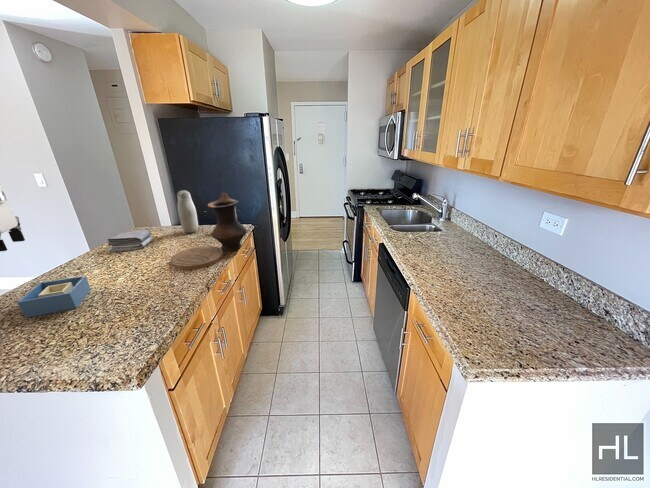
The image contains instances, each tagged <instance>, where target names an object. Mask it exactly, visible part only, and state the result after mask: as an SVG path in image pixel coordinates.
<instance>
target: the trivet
mask: <svg viewBox="0 0 650 488" xmlns="http://www.w3.org/2000/svg"><path fill="white" fill-rule="evenodd" d="M224 255H225V254H224V251H223V250H222V249H221V247H218V246H214V245H201V246H194V247H190V248H186V249H183V250H181V251H179V252H176V253H175V254H173V255H172V256H171V258H170V260H169V262H170V265H171V266H172V268H174V269H178V270H182V271H183V270H185V271H186V270H187V271H189V270H198V269H202V268H206V267H209V266H210V267H211V266H212V265H215V264H217V263H218V262H220V261H221V260H222V259H223V258H224Z"/></svg>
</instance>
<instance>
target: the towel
mask: <svg viewBox="0 0 650 488" xmlns="http://www.w3.org/2000/svg"><path fill="white" fill-rule="evenodd" d="M151 235H152V232H151V231H150V230H148V229H147V230H146V229H140V230H135V231H130V232H121V233H118V234H117V235H115V236H114V237H107V246H110V247H109V249H108V252H109V253H115V252H126V251H127V252H128V251H136V250H141V249H144V247H145V246H147V245H148V244H150V242H152V241H153V240H154V239H153V237H152V236H151Z"/></svg>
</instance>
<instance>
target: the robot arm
mask: <svg viewBox="0 0 650 488" xmlns="http://www.w3.org/2000/svg"><path fill="white" fill-rule="evenodd" d="M5 232H8V234H9V237H10V239H11V241H12V242H13V243H20V242H25V241H26V239H25V236H24V234H23V232H22V228H21V222H20V217H19V216H17V215H15V213H14V211H13V209H12V207H11V205H10V204H9V202H8V199H7V197H6V195H5V191H4V190H3V188H2V185H1V184H0V252H6V251H8V247H7V246H6V244H5V241H4V239H1V237H2V234H3V233H5Z"/></svg>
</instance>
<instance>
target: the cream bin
mask: <svg viewBox="0 0 650 488" xmlns="http://www.w3.org/2000/svg"><path fill="white" fill-rule="evenodd" d="M72 288H73V286H72V283H65V284H58V285H52V286H48V287H47V288H45V289H44V290H43V291H42V292H41V293H40V294H39V295H38V297H39V298H41V297H47V296H53V295H59V294H65V293H69V292H70V291H71V290H72Z"/></svg>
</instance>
